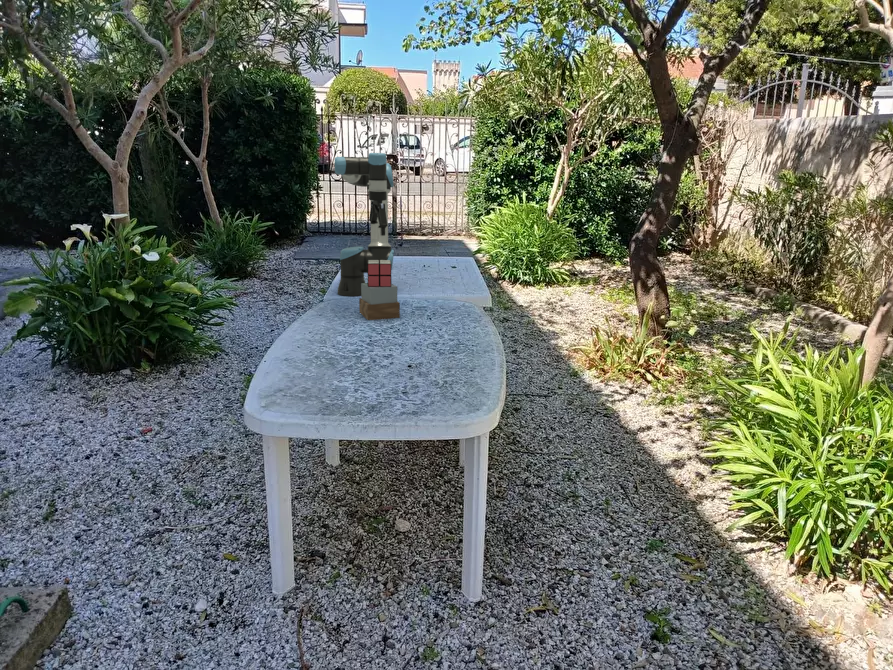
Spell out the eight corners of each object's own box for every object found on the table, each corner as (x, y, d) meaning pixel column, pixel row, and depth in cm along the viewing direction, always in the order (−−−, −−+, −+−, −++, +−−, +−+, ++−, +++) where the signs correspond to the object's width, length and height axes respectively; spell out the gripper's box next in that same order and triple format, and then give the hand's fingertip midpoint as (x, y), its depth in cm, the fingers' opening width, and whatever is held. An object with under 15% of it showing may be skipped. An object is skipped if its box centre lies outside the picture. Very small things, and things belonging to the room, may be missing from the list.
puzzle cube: (391, 287, 269) (391, 263, 266) (367, 287, 268) (367, 263, 265) (390, 282, 278) (390, 260, 276) (367, 282, 277) (367, 259, 275)
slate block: (361, 299, 277) (361, 283, 276) (387, 297, 283) (387, 281, 281) (370, 304, 267) (370, 288, 265) (397, 302, 272) (397, 286, 270)
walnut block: (359, 313, 281) (359, 298, 279) (389, 311, 286) (389, 296, 284) (368, 321, 268) (367, 305, 266) (399, 318, 273) (399, 302, 272)
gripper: (361, 188, 278) (362, 237, 284) (377, 192, 256) (377, 245, 262) (378, 188, 281) (378, 236, 287) (394, 192, 259) (395, 244, 265)
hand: (378, 241), depth 274 cm, fingers open, 13 cm apart
